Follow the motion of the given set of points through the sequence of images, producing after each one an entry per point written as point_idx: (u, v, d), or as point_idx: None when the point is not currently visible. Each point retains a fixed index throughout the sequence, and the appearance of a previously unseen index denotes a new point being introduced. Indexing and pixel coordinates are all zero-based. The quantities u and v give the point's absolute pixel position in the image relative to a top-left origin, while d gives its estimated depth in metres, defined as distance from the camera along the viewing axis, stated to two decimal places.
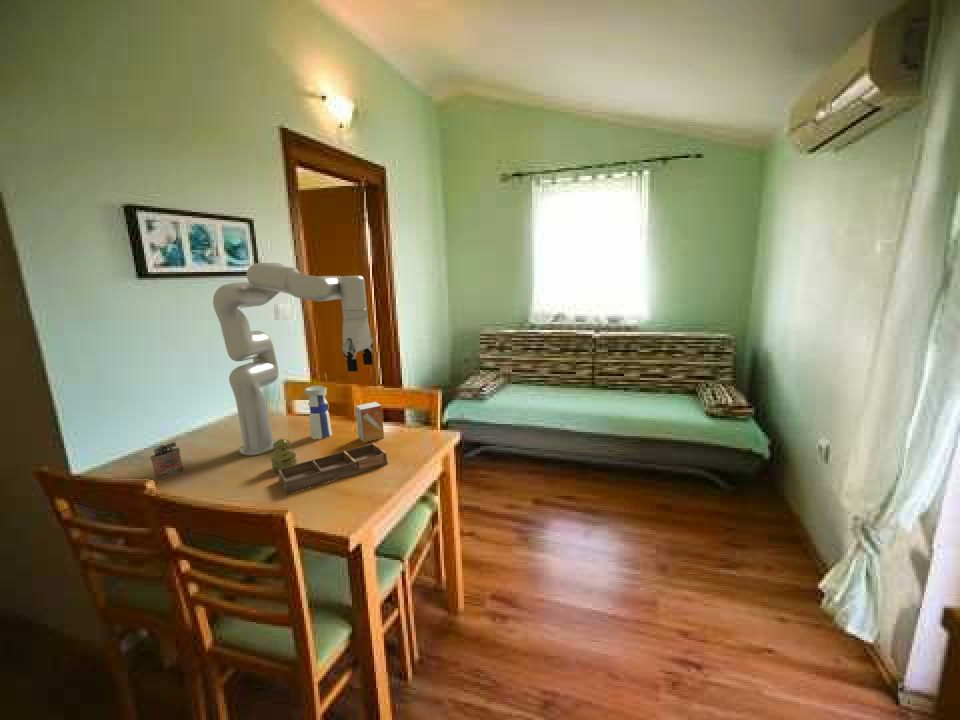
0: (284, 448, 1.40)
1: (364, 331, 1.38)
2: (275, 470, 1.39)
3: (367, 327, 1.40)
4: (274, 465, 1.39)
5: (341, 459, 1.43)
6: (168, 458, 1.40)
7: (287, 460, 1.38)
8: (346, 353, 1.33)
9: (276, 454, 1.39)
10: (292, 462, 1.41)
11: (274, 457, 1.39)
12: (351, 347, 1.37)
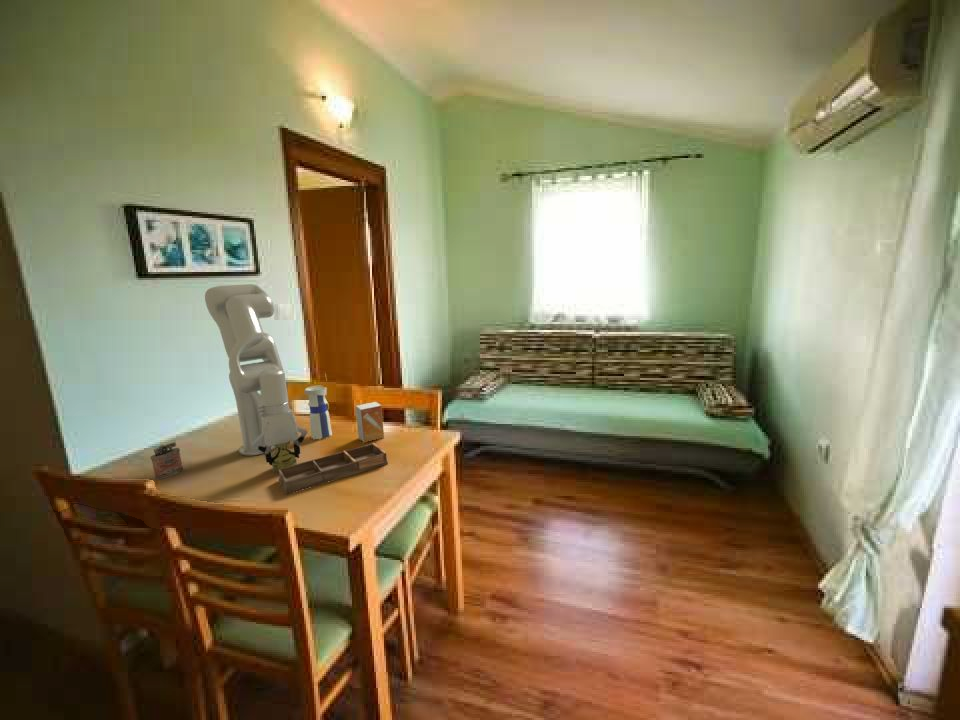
0: (284, 448, 1.40)
1: None
2: (275, 470, 1.39)
3: None
4: (274, 465, 1.39)
5: (341, 459, 1.43)
6: (168, 458, 1.40)
7: (287, 460, 1.38)
8: None
9: (276, 454, 1.39)
10: (292, 462, 1.41)
11: (274, 457, 1.39)
12: None
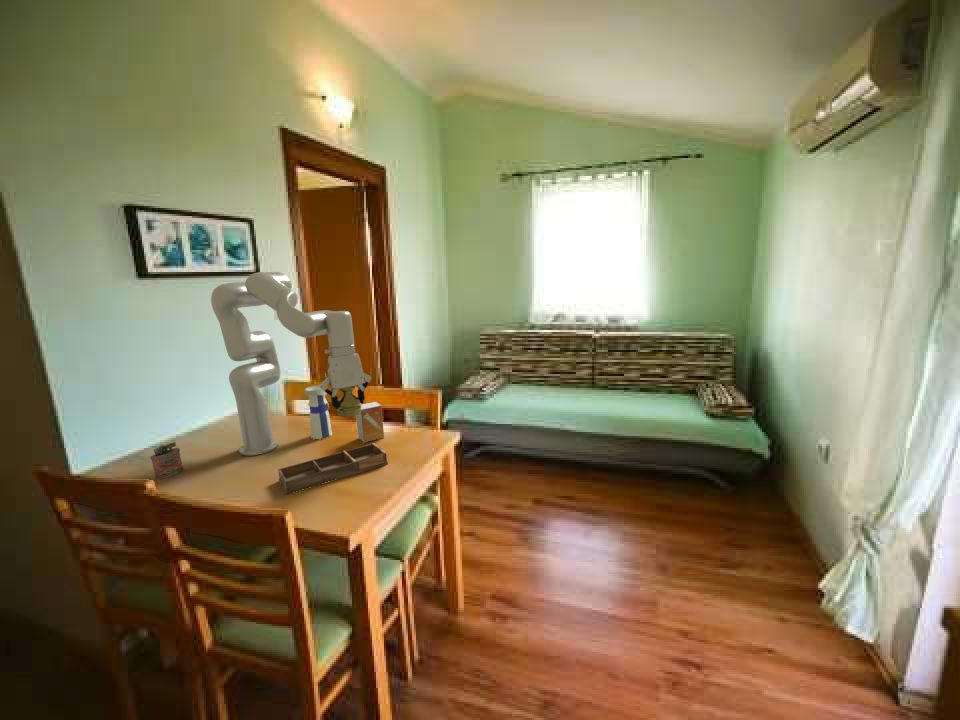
0: (350, 392, 1.37)
1: None
2: (341, 414, 1.36)
3: None
4: (340, 409, 1.36)
5: (341, 459, 1.43)
6: (168, 458, 1.40)
7: (353, 404, 1.36)
8: None
9: (342, 398, 1.36)
10: (358, 407, 1.38)
11: (340, 401, 1.36)
12: None
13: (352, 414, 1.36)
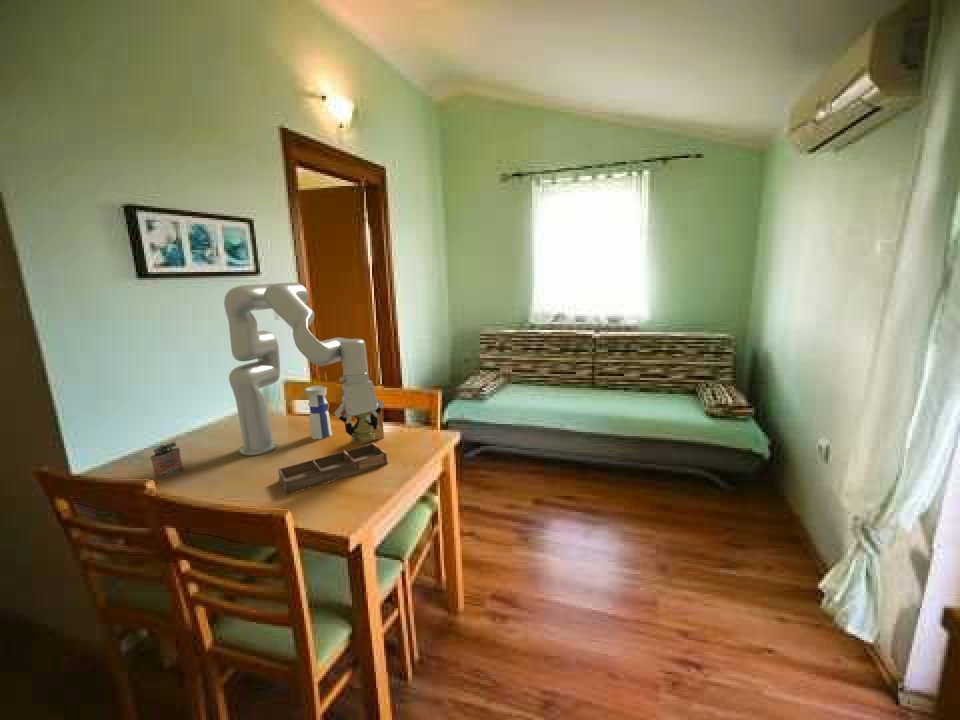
0: (363, 418, 1.39)
1: None
2: (355, 440, 1.38)
3: None
4: (354, 435, 1.38)
5: (341, 459, 1.43)
6: (168, 458, 1.40)
7: (367, 430, 1.38)
8: None
9: (356, 424, 1.38)
10: (371, 433, 1.40)
11: (354, 427, 1.38)
12: None
13: (366, 440, 1.38)
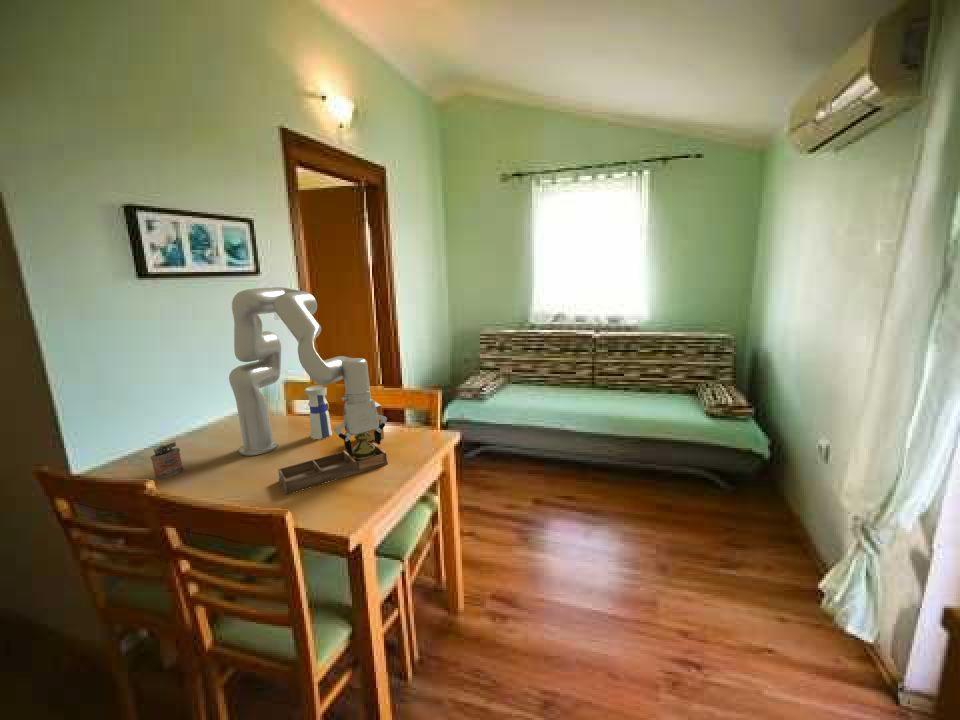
0: (365, 441, 1.41)
1: None
2: None
3: None
4: (355, 457, 1.40)
5: (341, 459, 1.43)
6: (168, 458, 1.40)
7: (368, 452, 1.39)
8: None
9: (357, 446, 1.40)
10: (372, 455, 1.42)
11: (356, 449, 1.40)
12: None
13: None
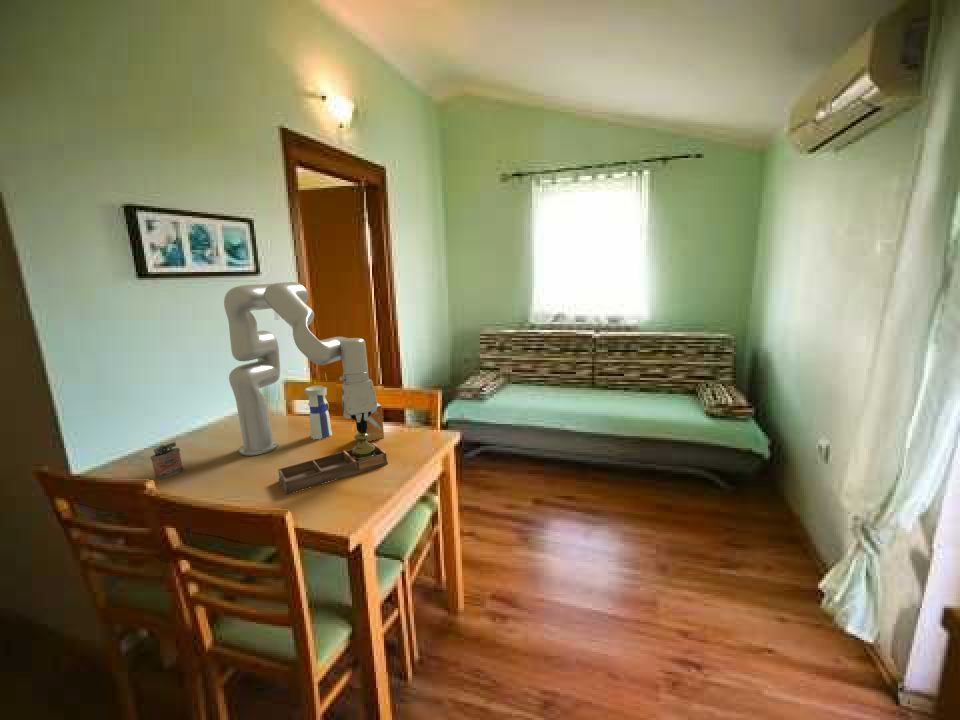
0: (365, 441, 1.41)
1: None
2: None
3: None
4: (355, 457, 1.40)
5: (341, 459, 1.43)
6: (168, 458, 1.40)
7: (368, 452, 1.39)
8: None
9: (357, 447, 1.40)
10: (372, 455, 1.42)
11: (356, 449, 1.40)
12: None
13: None
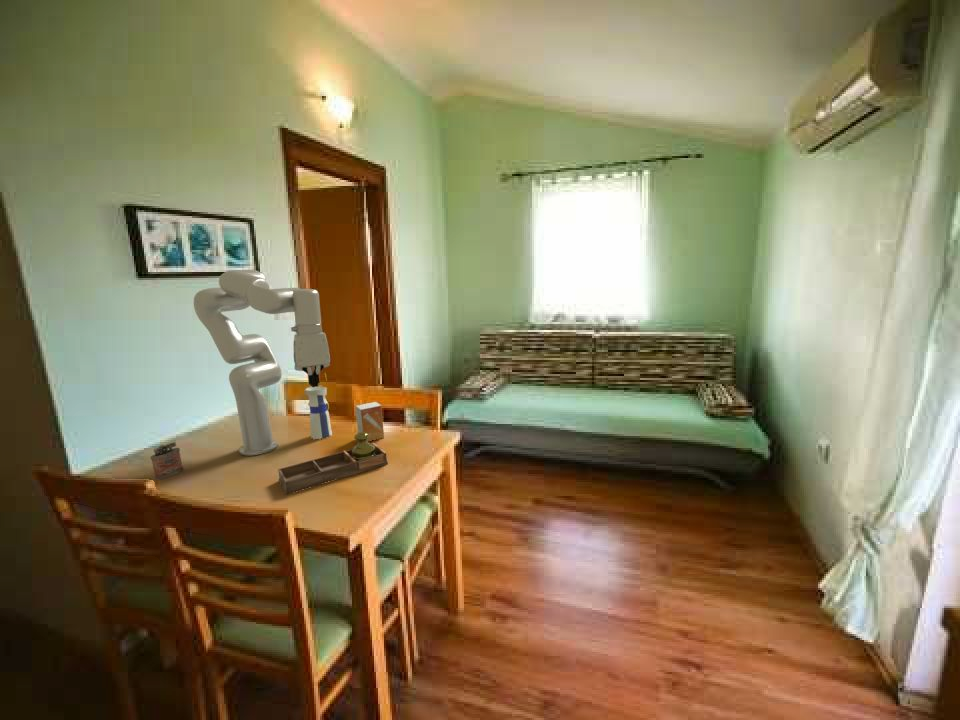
0: (365, 441, 1.41)
1: None
2: None
3: None
4: (355, 457, 1.40)
5: (341, 459, 1.43)
6: (168, 458, 1.40)
7: (368, 452, 1.39)
8: None
9: (357, 447, 1.40)
10: (372, 455, 1.42)
11: (356, 449, 1.40)
12: None
13: None
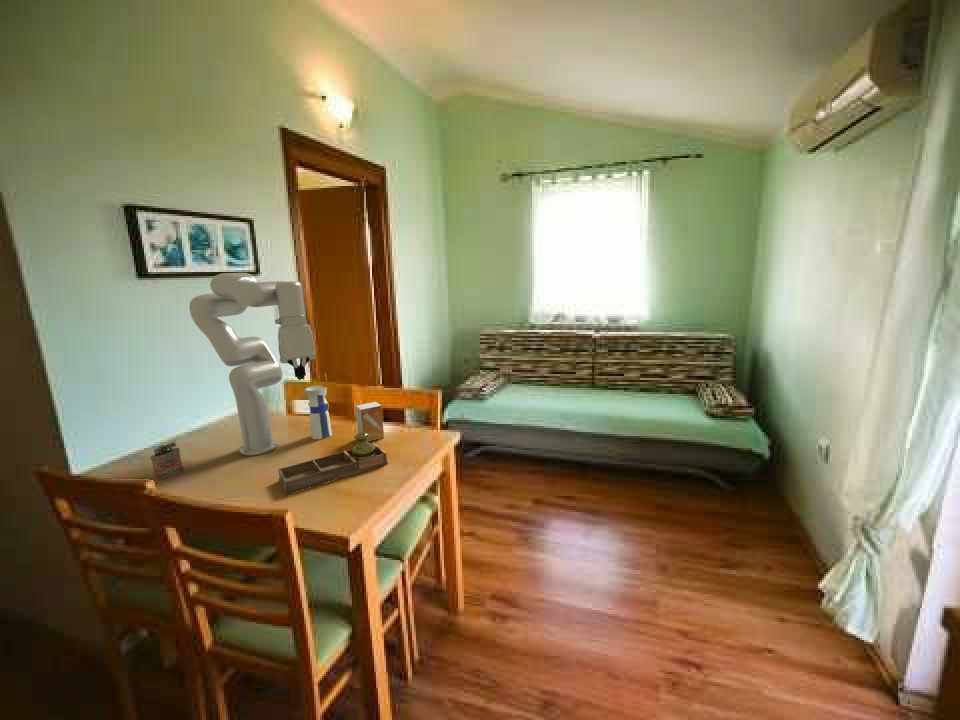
0: (365, 441, 1.41)
1: None
2: None
3: None
4: (355, 457, 1.40)
5: (341, 459, 1.43)
6: (168, 458, 1.40)
7: (368, 452, 1.39)
8: None
9: (357, 447, 1.40)
10: (372, 455, 1.42)
11: (356, 449, 1.40)
12: None
13: None
